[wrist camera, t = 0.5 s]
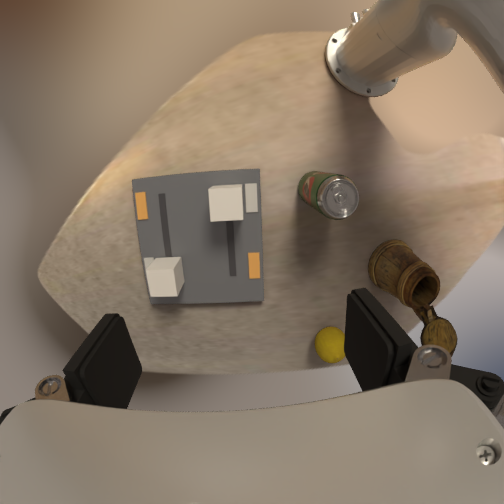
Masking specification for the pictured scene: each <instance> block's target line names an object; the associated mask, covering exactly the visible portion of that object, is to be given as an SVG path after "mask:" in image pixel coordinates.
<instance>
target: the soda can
mask: <svg viewBox="0 0 504 504" xmlns="http://www.w3.org/2000/svg"><path fill="white" fill-rule="evenodd" d="M298 191H299V195H300V197H301V198H302V200H303V201H304V202H306V203H307V204H308V205H310V206H311V207H313V208H314V209H316V210H317V211H319V212H320V213H322V214H323V215H324V216H326V217H328V218H330V219H334V220H341V219H344V218H346V217H348V216H350V215H351V214H353V213H354V211H355V210H356V208H357V206H358V203H359V193H358V190H357V187H356V185H355V184H354V182H353V181H352V180H351V179H349V178H348V177H346V176H343V175H338V174H332V173H325V172H318V171H312V172H309V173H307V174H305V175H304V176H303V177H302V178H301V180H300V182H299V186H298Z"/></svg>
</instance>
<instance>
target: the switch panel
mask: <svg viewBox="0 0 504 504" xmlns="http://www.w3.org/2000/svg"><path fill="white" fill-rule="evenodd" d="M235 184H242V194H243V220H231V221H213V222H211V221H210V207H209V193H208V189H209V188H211V187H212V186H218V185H235ZM132 186H133V197H134V206H135V214H136V222H137V230H138V237H139V244H140V250H141V256H142V262H143V268H144V273H145V279H146V284H147V289H148V294H149V299H150V303H151V304H192V303H227V302H251V301H264V282H263V249H262V218H261V191H260V169H240V170H222V171H208V172H196V173H184V174H174V175H165V176H156V177H148V178H140V179H134V180H132ZM164 257H181V259H182V267H183V274H184V281H185V282H184V284H183V286H182V288H181V290H180V292H179V294H178V296H170V297H151V296H150V291H149V286H148V281H147V275H146V269H147V268H148V267H149V266H150V264H151V263H152V262H153V261H154V260H155V259H156V258H164Z"/></svg>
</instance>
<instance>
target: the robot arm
mask: <svg viewBox="0 0 504 504" xmlns="http://www.w3.org/2000/svg"><path fill="white" fill-rule="evenodd" d="M362 13H363V16H362V18H361V19H360V16H359V14H358V13H356V12H353V13H351V19H352V22H353V23H352V24H351V25H350V26H349V28H344V29H341V30H338V31H337V32H335V33H334V34H333V35H332V36H331V37H330V39H329V40H328V42H327V45H326V48H325V57H326V62H327V65H328V67H329V69H330V71H331V73H332V74H333V76H334V77H335V78H336V80H337V81H338V82H339V83H340V84H341V85H343V86H344V87H345V88H347V89H348V90H350V91H352V92H354V93H356V94H359V95H361V96H366V97H378V96H382V95H384V94H387V93H388V92H390V91H391V90H392V89H393V88H394V87H395V85H396V84H397V81H398V78H399V76H401V75H404V74H406V73H408V72H410V71H413V70H415V69H417V68H419V67H422V66H424V65H427V64H429V63H431V62H434V61H436V60H439V59H441V58H443V57H445V56H447V55H448V54H449V53H450V52H451V50H452V49H453V47H454V45H455V42H456V39H457V33H458V34H459V35H460V36H461V37H462V38H463V39H464V41H465V42H466V43H468V45H469V46H470V47H471V48H472V50H473V51H474V52H475V54H476V55H477V56H478V57H479V59H480V60H481V61H482V63H483V64H484V66H485V67H486V69H487V70H488V71H489V73H490V74H491V76H492V77H493V79H494V80H495V82H496V83H497V85H498V86H499V88H500V89H501V90H502V92H503V93H504V0H378V1H377V2H376V3H375V4H374V5H373V6H372V7H371V8H370V9H365V10H363V11H362ZM333 42H334V43H333ZM336 71H337V72H338V73H337V72H336ZM367 92H368V93H367ZM344 353H345V356H346V358H347V360H348V362H349V364H350V366H351V368H352V370H353V372H354V374H355V376H356V378H357V380H358V382H359V384H360V387H361V389H362V392H358V393H353V394H349V395H344V396H340V397H335V398H331V399H325V400H320V401H314V402H308V403H301V404H295V405H287V406H280V407H271V408H263V409H262V408H261V409H250V410H236V411H216V412H167V411H146V410H133V409H127V407H128V405H129V402H130V400H131V397H132V395H133V392H134V390H135V387H136V385H137V382H138V380H139V378H140V375H141V372H142V366H141V363H140V361H139V358H138V356H137V353H136V351H135V348H134V346H133V343H132V340H131V338H130V335H129V332H128V329H127V327H126V324H125V321H124V318H123V317H120V315H119V314H117V313H115V314H105V315H104V316H103V317H102V319H101V320H100V321H99V323H98V324H97V325H96V326H95V328H94V329H93V330H92V331H91V333H90V334H89V335H88V337H87V338H86V339H85V341H84V342H83V343H82V345H81V346H80V347H79V349H78V350H77V351H76V352H75V354H74V355H73V357H72V358H71V359H70V361H69V362H68V363H67V365H66V366H65V368H64V369H63V372H64V374H65V375H66V376H65V378H64V379H63V377H61V376H59V375H51V376H47V377H45V378H43V379H42V380H41V381H40V382H39V383H38V384H37V386H36V388H35V398H33V399H31V400H28V401H26V402H24V403H21V404H19V405H17V406H14V407H12V408H10V409H6V410H5V411H3V413H2V414H1V416H0V504H504V382H503V380H502V379H501V378H500V377H499V376H497V375H496V374H493V373H490V372H485V371H480V370H475V369H471V368H466V367H461V366H457V365H453V364H451V362H452V360H451V355H450V353H449V352H448V351H447V350H446V349H444V348H442V347H440V346H437V345H424V346H421V347H419V348H418V347H417V346H416V344H415V343H414V342H413V341H412V340H411V338H410V337H409V336H408V335H407V334H406V332H405V331H404V330H403V329H402V328H401V327H400V325H399V324H398V323H397V322H396V321H395V320H394V318H393V317H392V316H391V315H390V314H389V313H388V312H387V311H386V310H385V308H384V307H383V306H382V305H381V304H380V303H379V302H378V301H377V300H376V298H375V297H374V296H373V295H372V294H371V293H370V292H369V291H368V290H367V289H366V288H361V289H355V290H352V291H351V294H348V296H347V310H346V326H345V339H344Z"/></svg>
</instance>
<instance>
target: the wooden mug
mask: <svg viewBox="0 0 504 504" xmlns="http://www.w3.org/2000/svg"><path fill="white" fill-rule="evenodd" d="M368 272H369V275H370V278H371V280H372V282H373V283H374V284H375V285H376V286H377V287H379V288H380V289H382V290H384V291H386V292H389V293H390V294H392V295H393V296H395V297H397V298H398V299H399V300H400V301H401V303H402V304H404V305H406V306H408V307H411V308H412V309H413V310H414V312H415V313H416V315H417V316H418V317H419V318H420V320H421V321H422V322H423V323H424V328H423V330H422V333H421V344H422V346H424V345H437V346H440V347H442V348H444V349H446V350H447V351H448V352H449V353H450V355H451V357H452V355H453V353H454V351H455V348H456V345H457V335H456V332H455V330H454V328H453V326H452V325H451V323H450V322H449V321H448V320H446V319H444V318H441V317H438V316H437V314H436V312H435V310H434V308H433V305H432V306H429V305H430V304H431V303H432V302H433V301H434V300H435V299H436V297H437V296H438V293H439V290H440V280H439V277H438V276H437V275H436V273H435V271H434V270H433V269H432V268H431V267H430V266H429V265H428V264H427V263H425V262H422V261H421V260H420V259H419V258H418V257H417V256H416V255H415V254H414V253H413V251H412V250H411V249H410V248H409V247H408V246H407V245H406V243H404V242H402V241H401V240H389V241H387V242H384V243H382V244H381V245H380V246H379V247H377V249H376V250H375V251H374V252H373V254H372V256H371V258H370V261H369V265H368Z"/></svg>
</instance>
